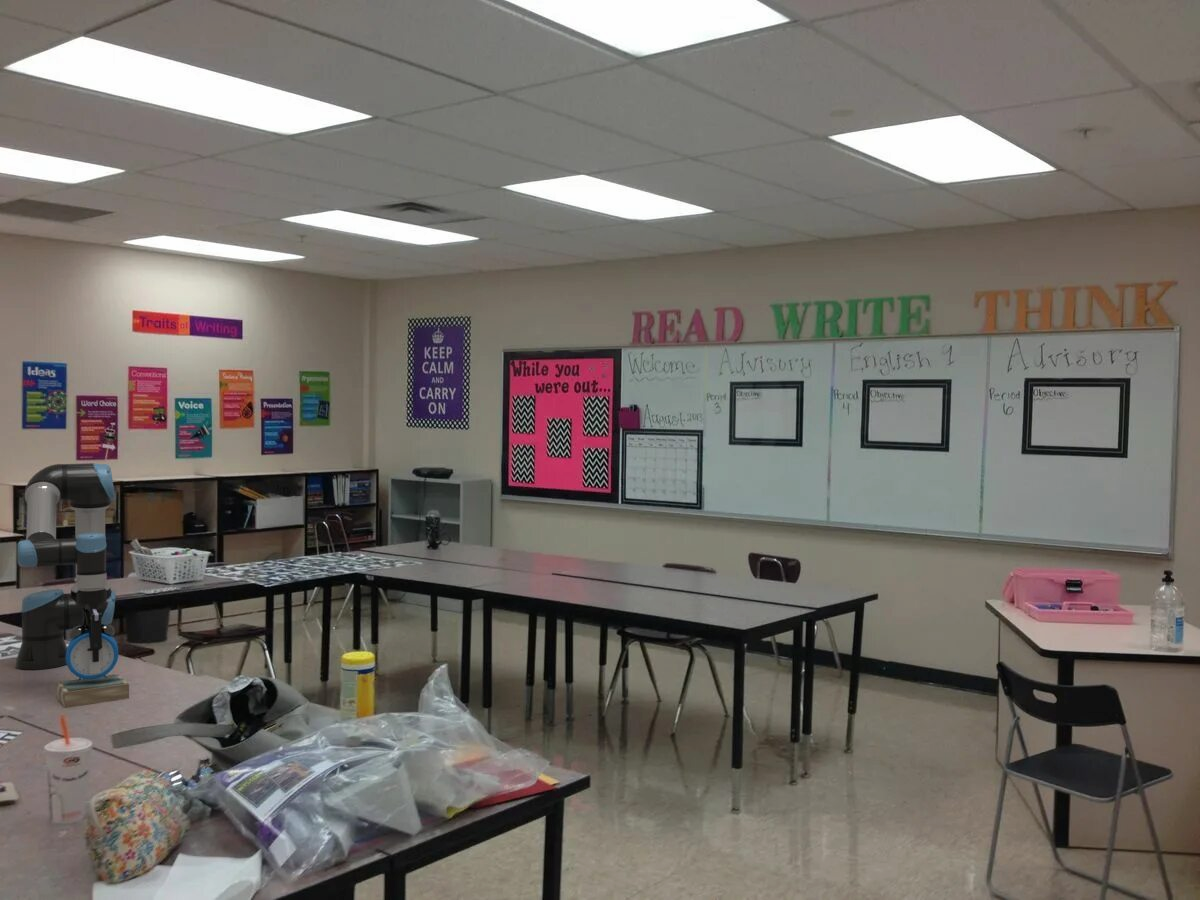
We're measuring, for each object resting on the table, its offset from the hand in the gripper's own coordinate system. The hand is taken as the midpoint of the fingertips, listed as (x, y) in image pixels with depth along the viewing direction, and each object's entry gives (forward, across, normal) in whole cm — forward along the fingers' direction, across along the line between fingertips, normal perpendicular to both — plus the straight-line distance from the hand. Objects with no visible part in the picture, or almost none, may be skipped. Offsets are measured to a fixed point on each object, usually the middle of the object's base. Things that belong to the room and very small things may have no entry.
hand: (92, 670), depth 286 cm
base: (+8, 0, 0) cm, 8 cm away
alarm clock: (+2, 0, 0) cm, 2 cm away
